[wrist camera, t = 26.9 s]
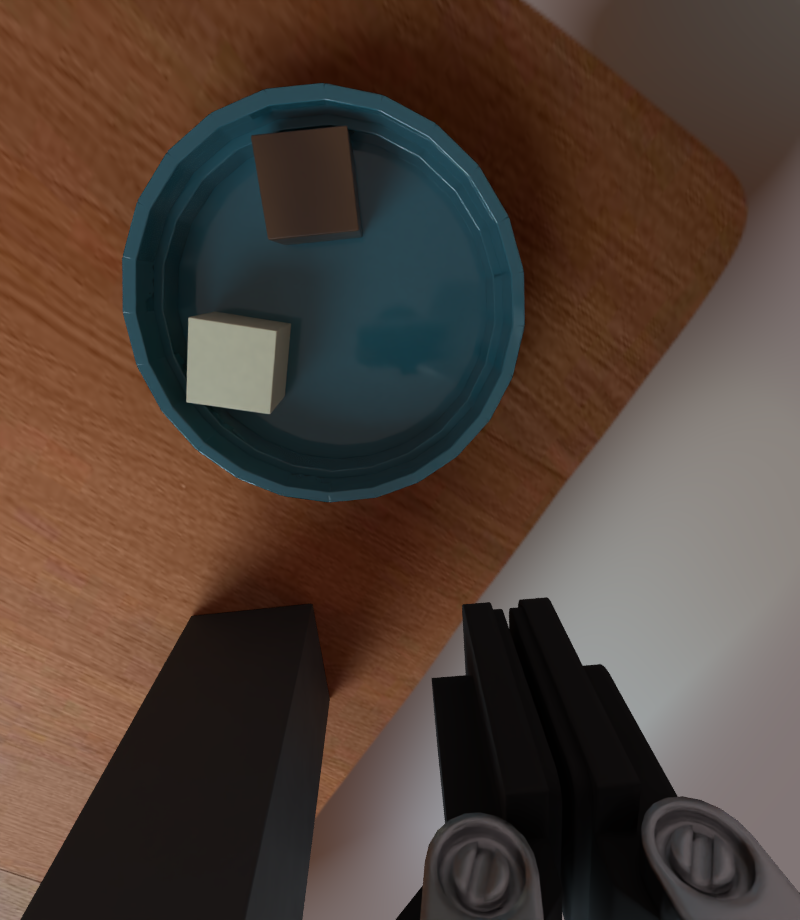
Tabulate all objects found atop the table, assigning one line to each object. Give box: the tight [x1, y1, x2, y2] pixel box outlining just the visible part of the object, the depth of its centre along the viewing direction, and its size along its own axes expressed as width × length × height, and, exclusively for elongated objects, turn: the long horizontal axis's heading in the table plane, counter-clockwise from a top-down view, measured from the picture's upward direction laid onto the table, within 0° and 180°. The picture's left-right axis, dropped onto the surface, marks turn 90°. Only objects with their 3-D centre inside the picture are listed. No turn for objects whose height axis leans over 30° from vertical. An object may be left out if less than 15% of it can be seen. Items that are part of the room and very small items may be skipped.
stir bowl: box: [122, 83, 525, 502], centre depth 26 cm, size 18×18×4 cm
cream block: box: [186, 312, 291, 414], centre depth 26 cm, size 4×4×4 cm
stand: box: [21, 604, 330, 920], centre depth 26 cm, size 8×8×19 cm
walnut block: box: [251, 125, 362, 245], centre depth 24 cm, size 4×4×4 cm
